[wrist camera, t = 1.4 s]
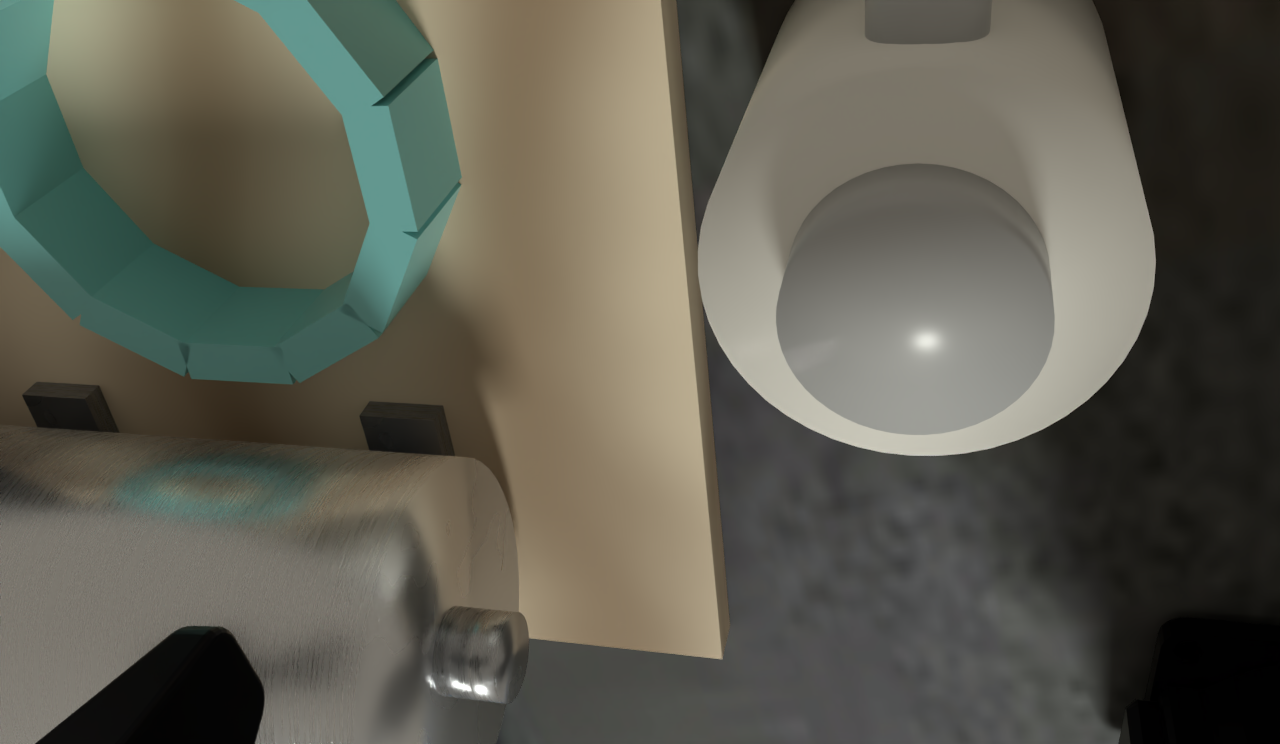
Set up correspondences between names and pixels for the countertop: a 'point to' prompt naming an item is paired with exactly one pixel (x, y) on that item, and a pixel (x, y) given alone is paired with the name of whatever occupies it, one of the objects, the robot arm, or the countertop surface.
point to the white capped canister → (930, 223)
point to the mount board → (434, 276)
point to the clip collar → (189, 295)
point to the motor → (260, 571)
